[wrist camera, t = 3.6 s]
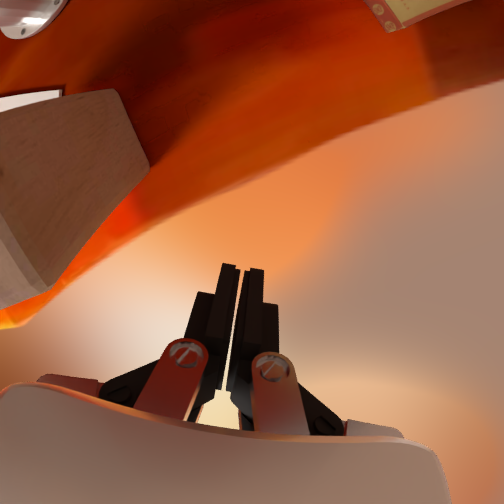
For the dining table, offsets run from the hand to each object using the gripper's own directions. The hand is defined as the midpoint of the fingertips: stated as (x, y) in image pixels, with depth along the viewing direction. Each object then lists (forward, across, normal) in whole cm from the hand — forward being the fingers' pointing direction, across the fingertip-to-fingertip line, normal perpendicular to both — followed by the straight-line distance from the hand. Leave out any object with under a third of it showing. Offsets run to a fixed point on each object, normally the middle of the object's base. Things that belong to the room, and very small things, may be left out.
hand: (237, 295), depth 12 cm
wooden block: (+19, +17, 0) cm, 25 cm away
